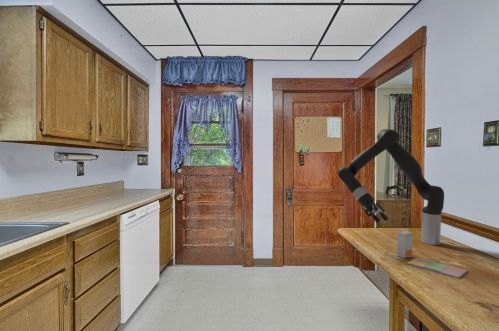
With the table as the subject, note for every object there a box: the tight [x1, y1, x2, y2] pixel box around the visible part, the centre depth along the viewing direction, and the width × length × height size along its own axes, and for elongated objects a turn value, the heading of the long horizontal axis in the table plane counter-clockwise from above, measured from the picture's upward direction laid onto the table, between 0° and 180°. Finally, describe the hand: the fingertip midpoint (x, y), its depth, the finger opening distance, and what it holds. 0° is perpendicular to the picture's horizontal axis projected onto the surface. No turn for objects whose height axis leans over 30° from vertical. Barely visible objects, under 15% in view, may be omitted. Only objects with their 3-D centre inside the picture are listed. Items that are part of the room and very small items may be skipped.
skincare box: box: [396, 230, 414, 259], centre depth 140 cm, size 6×4×12 cm
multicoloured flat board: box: [406, 257, 469, 280], centre depth 126 cm, size 12×20×1 cm, turn 39°
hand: (382, 221), depth 149 cm, fingers open, 8 cm apart
